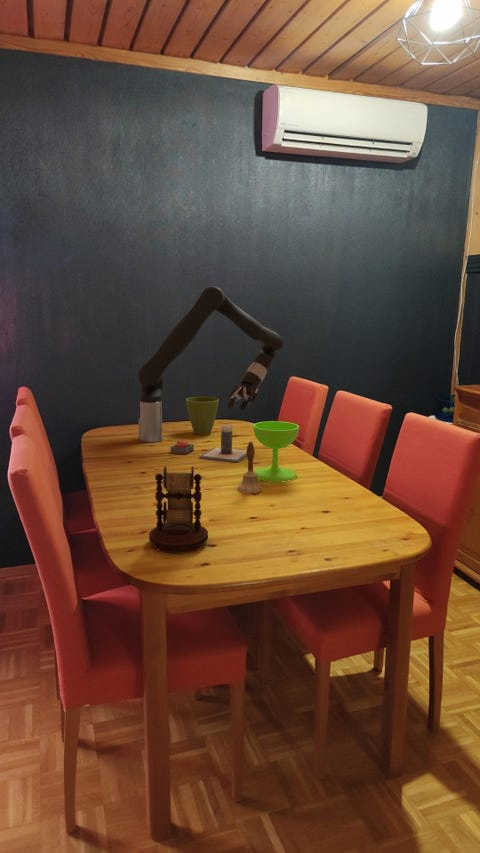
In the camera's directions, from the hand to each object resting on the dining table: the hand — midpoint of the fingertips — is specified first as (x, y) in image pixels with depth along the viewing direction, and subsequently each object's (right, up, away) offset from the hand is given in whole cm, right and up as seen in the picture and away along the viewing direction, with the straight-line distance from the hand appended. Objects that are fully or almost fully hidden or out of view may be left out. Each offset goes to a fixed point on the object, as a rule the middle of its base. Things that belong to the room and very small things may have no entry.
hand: (234, 408), depth 233 cm
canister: (-3, -18, -3) cm, 18 cm away
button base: (-21, -17, +2) cm, 28 cm away
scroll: (-13, -37, -86) cm, 95 cm away
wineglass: (+14, -25, -28) cm, 40 cm away
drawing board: (-3, -19, -3) cm, 19 cm away
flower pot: (-15, -11, +35) cm, 40 cm away
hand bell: (+5, -28, -44) cm, 52 cm away
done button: (-21, -16, +2) cm, 26 cm away
